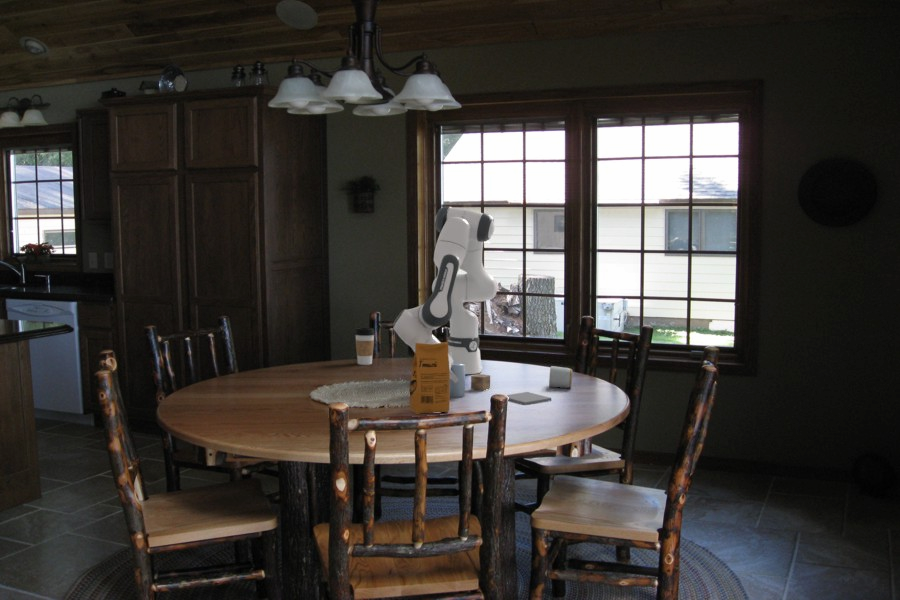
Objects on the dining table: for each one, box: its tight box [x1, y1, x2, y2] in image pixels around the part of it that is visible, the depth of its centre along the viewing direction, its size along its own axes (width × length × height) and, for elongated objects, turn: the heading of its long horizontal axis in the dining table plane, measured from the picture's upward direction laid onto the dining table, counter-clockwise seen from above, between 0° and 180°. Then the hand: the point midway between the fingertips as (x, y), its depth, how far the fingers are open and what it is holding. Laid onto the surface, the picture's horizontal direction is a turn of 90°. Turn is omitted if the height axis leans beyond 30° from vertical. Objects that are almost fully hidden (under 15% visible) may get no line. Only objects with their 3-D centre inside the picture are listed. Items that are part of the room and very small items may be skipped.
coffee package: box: [409, 341, 451, 415], centre depth 268 cm, size 10×12×22 cm
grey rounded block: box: [548, 365, 573, 389], centre depth 309 cm, size 11×8×8 cm
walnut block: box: [470, 373, 491, 392], centre depth 303 cm, size 5×5×5 cm
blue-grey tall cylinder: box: [449, 363, 466, 398], centre depth 291 cm, size 6×6×11 cm
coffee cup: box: [354, 327, 376, 366], centre depth 352 cm, size 8×8×15 cm
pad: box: [506, 391, 552, 405], centre depth 287 cm, size 12×12×1 cm
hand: (458, 378), depth 291 cm, fingers open, 8 cm apart
